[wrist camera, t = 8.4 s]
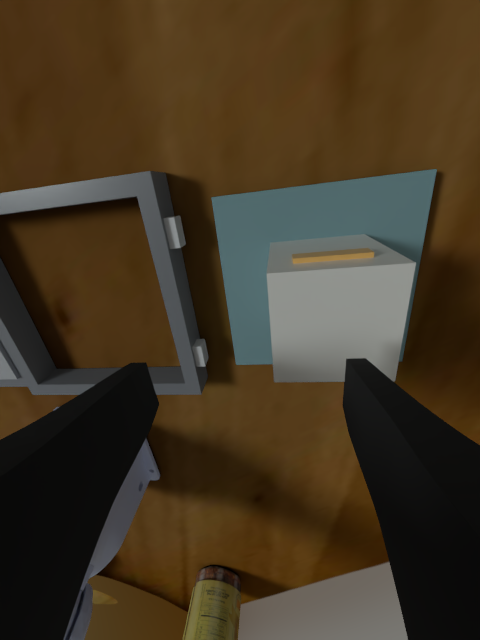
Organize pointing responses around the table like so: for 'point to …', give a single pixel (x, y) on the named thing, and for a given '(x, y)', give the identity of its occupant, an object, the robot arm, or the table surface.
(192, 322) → the case
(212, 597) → the sauce bottle
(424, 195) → the mat
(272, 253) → the block
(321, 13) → the table surface
